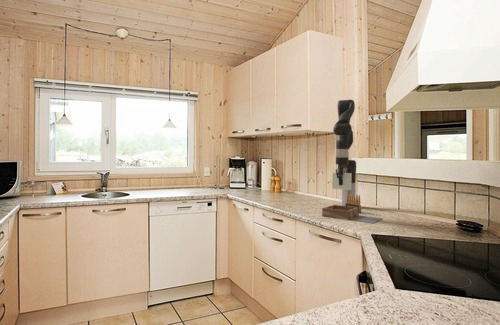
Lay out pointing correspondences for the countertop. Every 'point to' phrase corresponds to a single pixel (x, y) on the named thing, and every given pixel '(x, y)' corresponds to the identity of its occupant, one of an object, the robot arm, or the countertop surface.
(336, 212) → the walnut box
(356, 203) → the ammunition clip
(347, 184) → the pale green rectangular block
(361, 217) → the rubber mat
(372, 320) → the countertop surface
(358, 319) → the countertop surface
